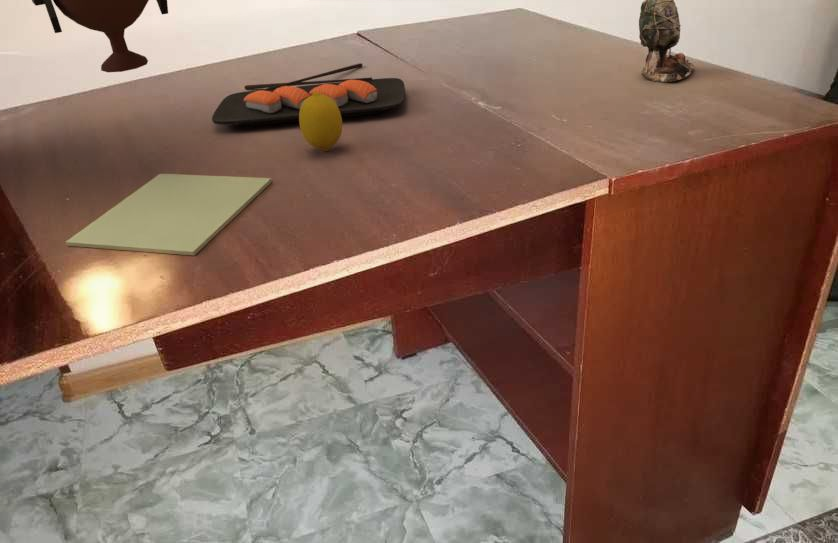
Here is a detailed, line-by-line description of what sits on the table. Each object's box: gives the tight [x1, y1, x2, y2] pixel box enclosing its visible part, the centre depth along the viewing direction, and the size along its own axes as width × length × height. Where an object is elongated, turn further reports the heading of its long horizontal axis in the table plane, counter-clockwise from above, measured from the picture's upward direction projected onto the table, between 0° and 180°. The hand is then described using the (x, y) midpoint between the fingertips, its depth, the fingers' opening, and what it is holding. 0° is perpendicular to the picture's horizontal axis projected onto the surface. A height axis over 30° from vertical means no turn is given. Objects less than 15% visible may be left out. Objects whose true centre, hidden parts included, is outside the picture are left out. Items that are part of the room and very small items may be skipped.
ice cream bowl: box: [52, 0, 150, 73], centre depth 81 cm, size 11×11×15 cm
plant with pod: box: [638, 0, 695, 83], centre depth 103 cm, size 8×11×20 cm
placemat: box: [65, 173, 273, 257], centre depth 81 cm, size 16×18×1 cm
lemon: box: [298, 92, 343, 152], centre depth 91 cm, size 6×6×8 cm
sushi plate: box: [211, 62, 406, 127], centre depth 114 cm, size 29×30×4 cm
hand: (111, 15), depth 80 cm, fingers closed on ice cream bowl, 11 cm apart
